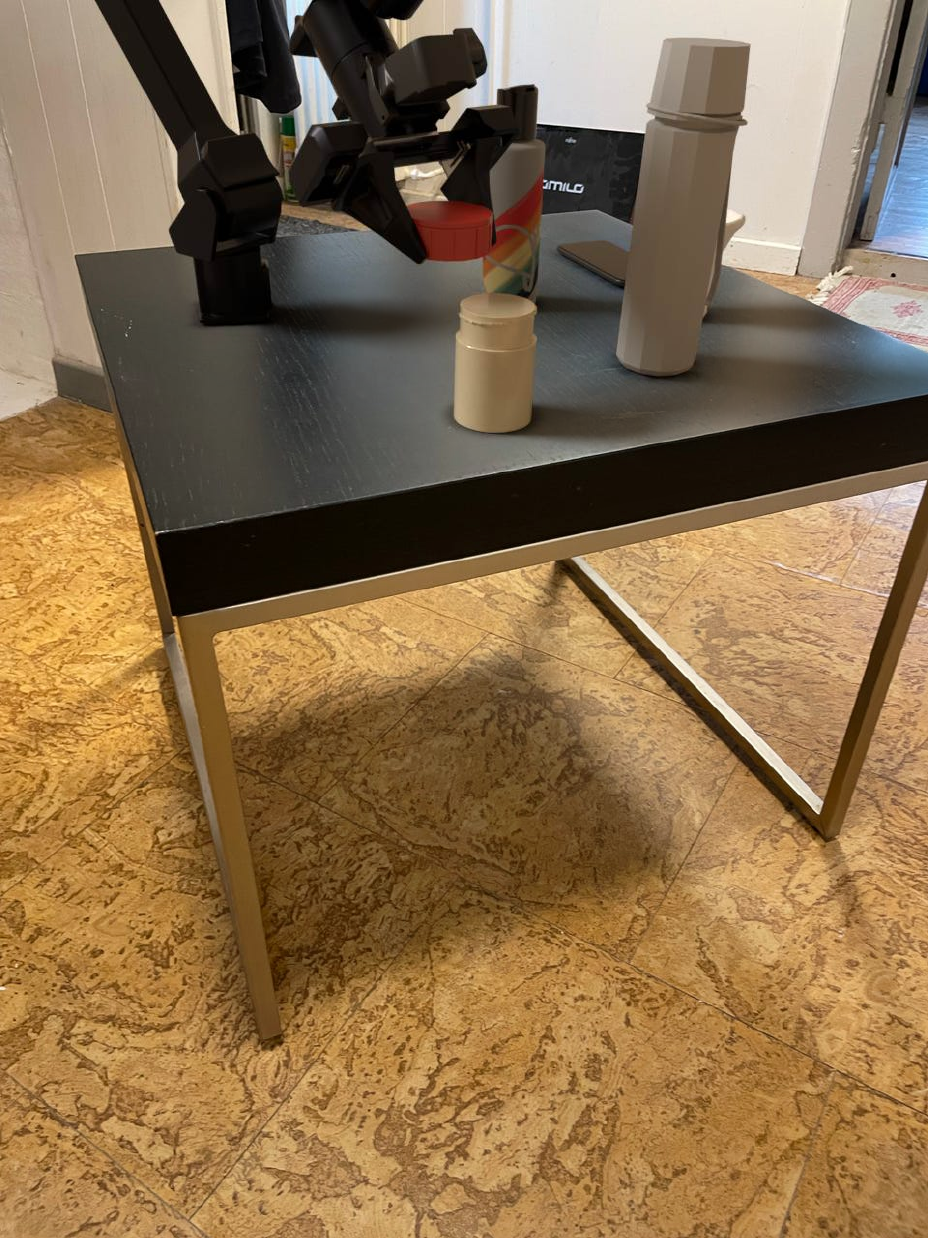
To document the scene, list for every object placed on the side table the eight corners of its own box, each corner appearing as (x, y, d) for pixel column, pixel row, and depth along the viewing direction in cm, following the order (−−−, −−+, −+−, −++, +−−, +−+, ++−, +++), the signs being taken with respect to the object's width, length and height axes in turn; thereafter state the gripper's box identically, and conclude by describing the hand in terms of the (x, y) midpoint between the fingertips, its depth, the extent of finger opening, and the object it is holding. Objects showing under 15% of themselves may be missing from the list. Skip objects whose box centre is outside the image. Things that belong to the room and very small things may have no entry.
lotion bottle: (512, 315, 94) (521, 89, 82) (470, 302, 97) (473, 82, 85) (547, 302, 98) (561, 83, 85) (506, 289, 101) (514, 76, 89)
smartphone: (675, 282, 105) (605, 245, 115) (677, 274, 104) (605, 238, 115) (619, 289, 102) (552, 251, 113) (620, 281, 101) (553, 243, 112)
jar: (462, 435, 72) (465, 320, 67) (447, 402, 77) (449, 292, 71) (539, 430, 73) (549, 317, 68) (520, 398, 78) (527, 290, 73)
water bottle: (647, 386, 81) (700, 48, 66) (596, 355, 86) (634, 36, 71) (730, 370, 84) (798, 46, 69) (676, 341, 90) (728, 35, 75)
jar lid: (507, 247, 72) (510, 210, 71) (458, 267, 68) (459, 228, 66) (435, 231, 75) (435, 195, 74) (383, 250, 71) (382, 212, 69)
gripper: (297, -18, 59) (409, 205, 59) (511, -20, 69) (606, 170, 69) (245, 106, 68) (342, 298, 68) (440, 88, 78) (524, 255, 78)
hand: (458, 253), depth 71 cm, fingers closed on jar lid, 6 cm apart
